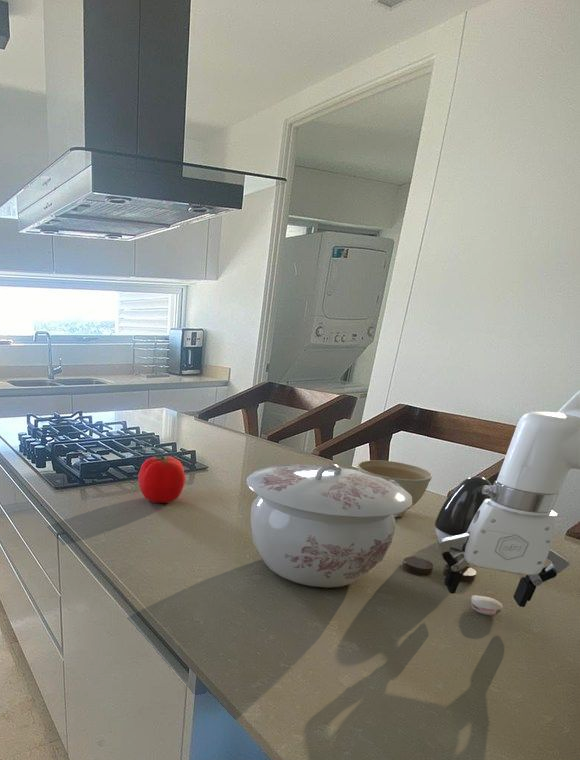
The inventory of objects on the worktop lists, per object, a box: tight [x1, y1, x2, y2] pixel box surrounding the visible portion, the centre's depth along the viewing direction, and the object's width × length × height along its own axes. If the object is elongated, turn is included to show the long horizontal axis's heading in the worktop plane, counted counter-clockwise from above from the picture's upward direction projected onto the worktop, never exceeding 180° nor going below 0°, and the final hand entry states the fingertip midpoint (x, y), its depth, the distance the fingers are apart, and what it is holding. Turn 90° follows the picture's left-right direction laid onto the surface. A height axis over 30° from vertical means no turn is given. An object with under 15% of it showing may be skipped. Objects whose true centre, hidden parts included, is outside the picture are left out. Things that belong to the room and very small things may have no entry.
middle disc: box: [442, 563, 477, 584], centre depth 91 cm, size 5×5×2 cm
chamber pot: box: [246, 463, 413, 589], centre depth 88 cm, size 28×28×21 cm
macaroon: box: [470, 594, 504, 616], centre depth 80 cm, size 4×5×2 cm
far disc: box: [401, 556, 434, 577], centre depth 93 cm, size 5×5×2 cm
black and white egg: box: [434, 475, 492, 551], centre depth 101 cm, size 10×10×15 cm
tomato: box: [137, 454, 187, 504], centre depth 124 cm, size 12×13×12 cm
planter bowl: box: [357, 460, 433, 518], centre depth 119 cm, size 16×16×11 cm
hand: (483, 596), depth 79 cm, fingers open, 9 cm apart
